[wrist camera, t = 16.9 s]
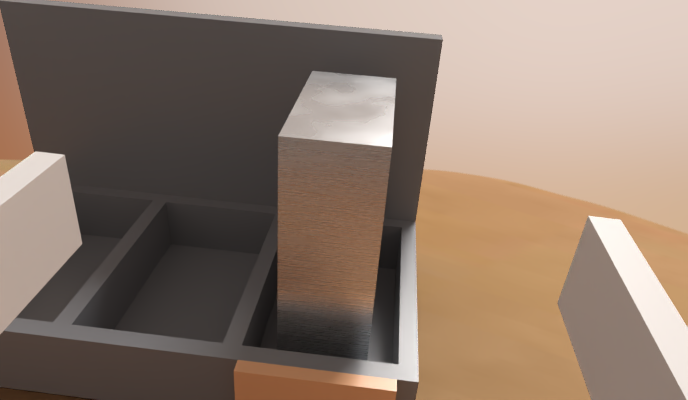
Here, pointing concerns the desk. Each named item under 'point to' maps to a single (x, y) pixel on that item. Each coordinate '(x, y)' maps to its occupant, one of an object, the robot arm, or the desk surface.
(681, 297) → the desk surface
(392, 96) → the brushed metal block
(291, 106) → the rack
